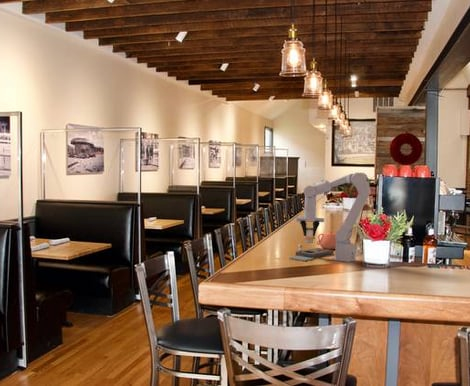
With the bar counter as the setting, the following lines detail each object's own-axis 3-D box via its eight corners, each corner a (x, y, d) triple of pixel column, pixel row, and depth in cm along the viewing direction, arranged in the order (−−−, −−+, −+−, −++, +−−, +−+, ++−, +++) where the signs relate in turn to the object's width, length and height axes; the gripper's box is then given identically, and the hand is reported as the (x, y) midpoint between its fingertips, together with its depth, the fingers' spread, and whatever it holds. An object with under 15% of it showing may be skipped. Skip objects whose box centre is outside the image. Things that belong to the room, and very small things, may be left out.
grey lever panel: (333, 254, 260) (333, 250, 260) (311, 258, 246) (312, 254, 246) (317, 251, 267) (317, 247, 267) (295, 255, 253) (295, 251, 252)
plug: (316, 242, 252) (317, 228, 251) (310, 243, 247) (311, 228, 247) (307, 241, 255) (307, 227, 255) (301, 242, 251) (301, 227, 250)
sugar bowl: (343, 250, 272) (344, 232, 272) (318, 250, 273) (318, 231, 272) (339, 247, 285) (339, 229, 284) (314, 246, 285) (315, 228, 284)
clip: (300, 248, 261) (300, 242, 261) (302, 252, 251) (302, 245, 251) (297, 248, 261) (297, 242, 261) (298, 251, 251) (299, 245, 251)
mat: (313, 259, 242) (313, 258, 242) (304, 261, 237) (304, 260, 237) (298, 256, 249) (298, 255, 249) (289, 258, 243) (289, 257, 243)
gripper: (297, 209, 246) (296, 236, 247) (326, 210, 247) (325, 237, 248) (294, 208, 253) (293, 234, 254) (322, 209, 254) (321, 235, 255)
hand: (309, 235), depth 251 cm, fingers closed on plug, 4 cm apart
